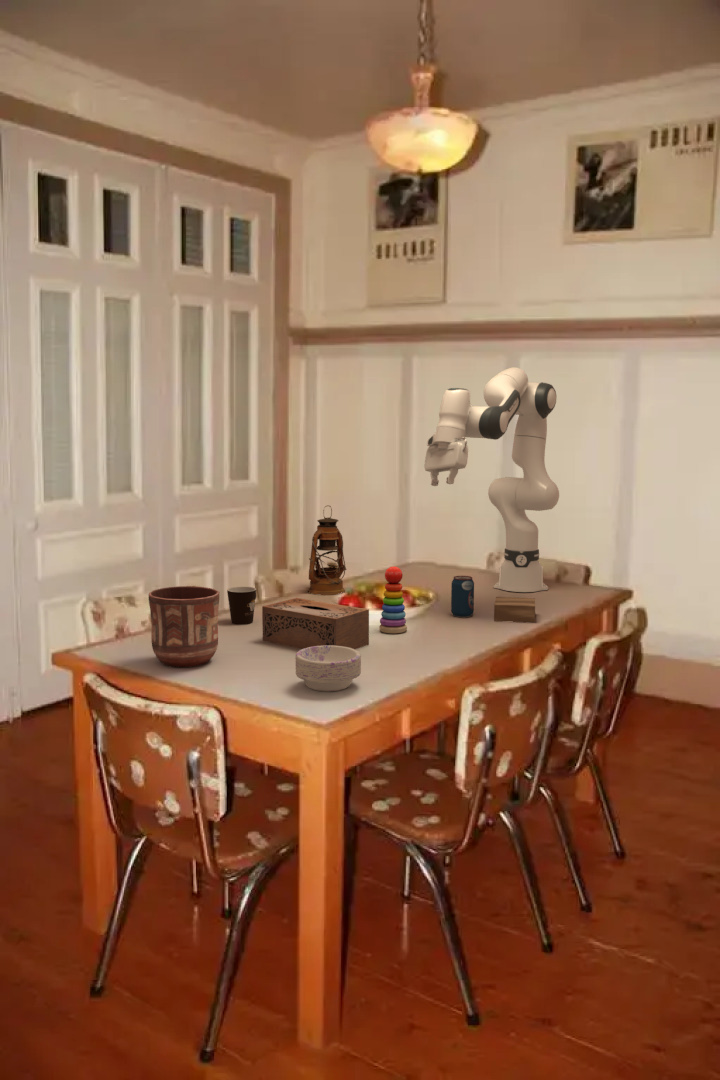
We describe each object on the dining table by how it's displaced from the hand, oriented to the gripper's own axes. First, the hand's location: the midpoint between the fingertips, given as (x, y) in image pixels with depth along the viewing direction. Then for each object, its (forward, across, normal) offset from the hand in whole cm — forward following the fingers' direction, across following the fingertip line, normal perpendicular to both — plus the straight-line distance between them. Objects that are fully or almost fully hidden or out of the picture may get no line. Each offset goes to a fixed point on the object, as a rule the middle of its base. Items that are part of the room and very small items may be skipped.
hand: (441, 484), depth 292 cm
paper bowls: (+61, -45, +45) cm, 88 cm away
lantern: (+36, +57, +7) cm, 68 cm away
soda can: (+37, +5, -18) cm, 42 cm away
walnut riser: (+35, -4, -30) cm, 47 cm away
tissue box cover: (+53, -7, +34) cm, 63 cm away
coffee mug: (+51, +25, +44) cm, 72 cm away
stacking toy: (+46, -4, +10) cm, 47 cm away
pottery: (+63, -11, +70) cm, 95 cm away
